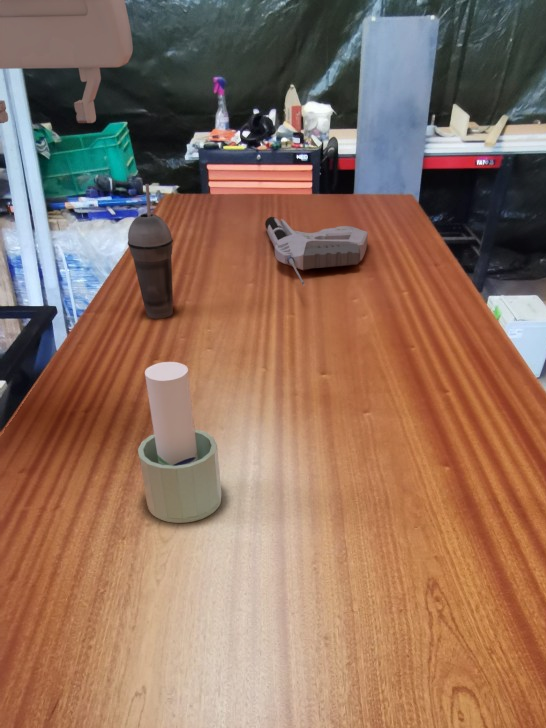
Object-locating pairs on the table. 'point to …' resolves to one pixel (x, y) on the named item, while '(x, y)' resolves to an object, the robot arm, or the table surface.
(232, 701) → the table surface
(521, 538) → the table surface
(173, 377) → the tube
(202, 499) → the pale green hollow cylinder
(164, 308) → the beverage cup
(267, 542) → the table surface
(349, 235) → the power tool
